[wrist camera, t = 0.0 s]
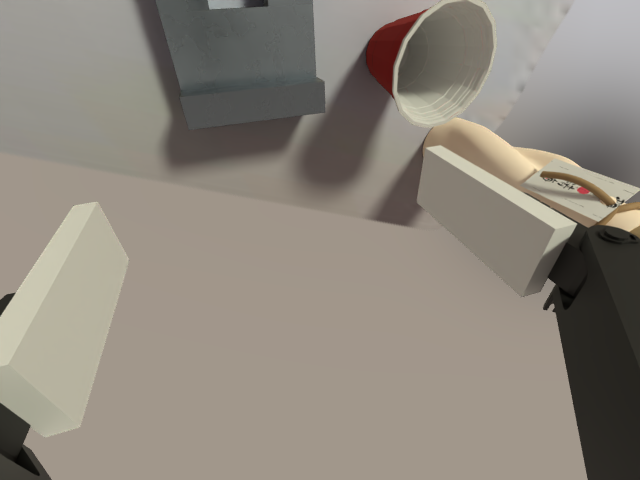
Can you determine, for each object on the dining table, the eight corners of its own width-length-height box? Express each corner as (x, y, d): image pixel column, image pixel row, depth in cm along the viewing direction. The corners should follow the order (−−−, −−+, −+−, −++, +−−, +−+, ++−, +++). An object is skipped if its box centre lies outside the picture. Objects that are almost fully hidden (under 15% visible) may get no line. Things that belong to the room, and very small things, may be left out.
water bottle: (401, 146, 46) (580, 270, 24) (447, 93, 43) (695, 178, 21) (438, 181, 51) (608, 307, 30) (480, 136, 49) (702, 238, 27)
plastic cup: (377, 120, 42) (426, 151, 33) (328, 51, 36) (371, 66, 26) (442, 57, 40) (514, 72, 31) (402, -29, 33) (478, -43, 24)
